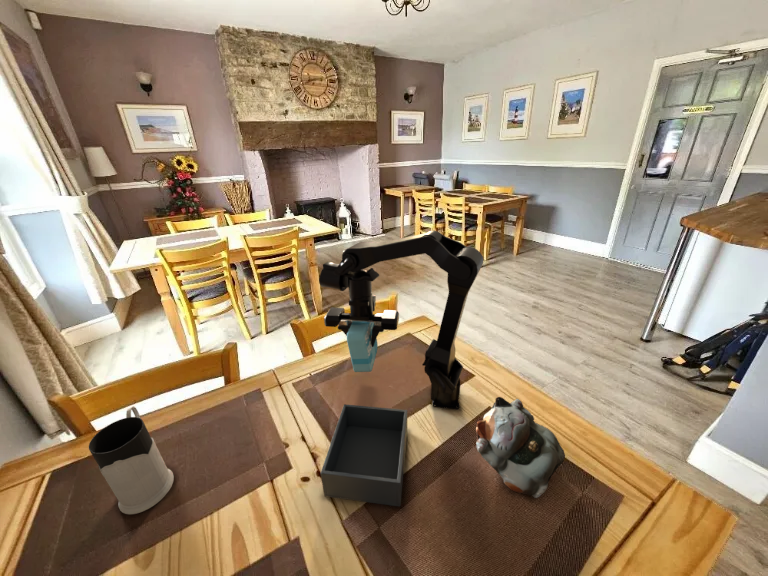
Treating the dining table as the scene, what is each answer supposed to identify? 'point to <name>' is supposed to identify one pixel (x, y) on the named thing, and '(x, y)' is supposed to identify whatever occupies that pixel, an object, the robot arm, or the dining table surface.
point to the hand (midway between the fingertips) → (363, 345)
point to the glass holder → (131, 463)
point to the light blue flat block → (361, 346)
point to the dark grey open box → (367, 455)
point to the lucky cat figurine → (518, 447)
